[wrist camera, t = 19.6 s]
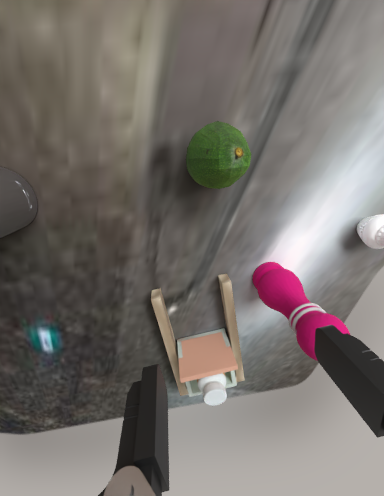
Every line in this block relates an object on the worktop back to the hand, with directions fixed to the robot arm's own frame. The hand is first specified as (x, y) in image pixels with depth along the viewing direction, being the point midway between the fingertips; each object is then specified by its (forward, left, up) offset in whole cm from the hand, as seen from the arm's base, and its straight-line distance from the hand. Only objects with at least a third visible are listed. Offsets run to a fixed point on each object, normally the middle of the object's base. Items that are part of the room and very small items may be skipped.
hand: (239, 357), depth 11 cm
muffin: (+32, -8, -28) cm, 43 cm away
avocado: (+5, +9, -28) cm, 30 cm away
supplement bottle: (-2, -29, -27) cm, 39 cm away
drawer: (-2, -29, -28) cm, 40 cm away
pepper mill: (+13, -14, -28) cm, 34 cm away
